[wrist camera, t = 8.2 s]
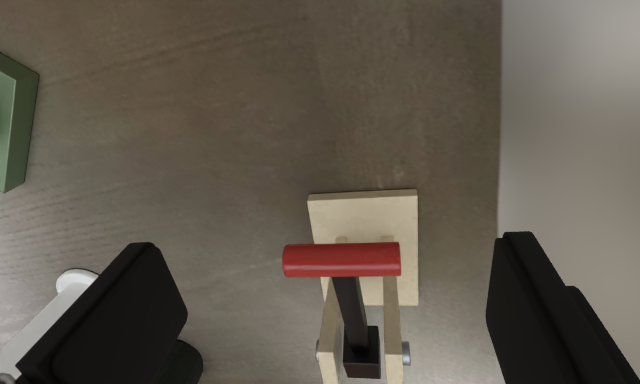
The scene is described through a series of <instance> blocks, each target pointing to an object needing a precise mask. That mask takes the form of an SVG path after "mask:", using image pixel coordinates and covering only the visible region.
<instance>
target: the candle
mask: <svg viewBox="0 0 640 384" xmlns="http://www.w3.org/2000/svg"><path fill="white" fill-rule="evenodd" d="M98 276H99V275H97V274H95V273H92V272H90V271H86V270H81V269H73V270H68V271H66V272H64V273H63V274H62V275H61V276H60V277H59V278H58V280H57V282H56V289H57V292H58V295H57V296H56V297H55V298H54V299H53V300H52V301H51V302H50V303H49V304H48V305H47V306H46V307H45V308H43V309H42V310H41V311H40V312H39V313H38V314H37V315H36V316H35V317H34V318H33V319H32V320H31V321H30V322H29V323H28V324H27V325H26V326H24V327H23V328H22V329H21V330H20V331H19V332H18V333H17V334H16V335H15V336H14V337H13V338H12V339H11V340H10V341H9V342H8V343H7V344H6V345H4V346H3V347H2V348H1V349H0V373H7V374H11V375H12V376H13V377H14V378H15V379H17V378H18V377H19V376H20V375H21V374H22V373H21V372H20V371H19V370H18V369H17V368H16V367H15V365H16V363H17V362H18V361H19V360H20V359H21V358H22V357H23V356H24V355H25V354H26V353H27V352H28V351H29V350H30V349H31V348H32V346H33V345H34V344H35V343H36V342H37V341H38V340H39V339H40V338H41V337H42V336H43V335H44V334H45V333H46V332H47V330H48V329H49V328H50V327H51V326H52V325H53V324H54V323H55V322H56V321H57V320H58V319H59V318H60V317H61V316H62V315H63V313H64V312H65V311H66V310H67V309H68V308H69V307H70V306H71V305H72V304H73V303H74V302H75V301H76V300H77V299H78V298H79V296H80V295H81V294H82V293H83V292H84V291H85V290H86V289H87V288H88V287H89V286H90V285H91V284H92V283H93V282H94V281H95V279H96V278H97V277H98Z"/></svg>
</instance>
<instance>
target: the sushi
mask: <svg viewBox="0 0 640 384" xmlns="http://www.w3.org/2000/svg"><path fill="white" fill-rule="evenodd" d="M202 372H203V363H202V359H201V356H200V354H199V353H198V352H197V351H196V350H195V349H194V348H192V347H191V346H189V345H187V344H185V343H184V342H180V341H177V340H176V341H175V343H174V345H173V346H172V348H171V350H170V352H169V353H168V355H167V357H166V359H165V361H164V362H163V364H162V366H161V368H160V370H159V371H158V373H157V375H156V377H155V379H154V380H153V382H152V384H197V383H198V381H199V379H200V377H201V374H202Z"/></svg>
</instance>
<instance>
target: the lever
mask: <svg viewBox="0 0 640 384" xmlns="http://www.w3.org/2000/svg"><path fill="white" fill-rule="evenodd" d="M282 265H283V271H284V275H285V276H286V277H331V279H332V283H333V286H334V290H335V293H336V297H337V300H338V304H339V307H340V311H341V314H342V318H343V321H344V325H345V326H344V342H343V365H344V368H345V371H346V373H347V376H348V377H349V378H371V379H381V360H380V339H379V331H378V326H367V320H366V314H365V309H364V303H363V297H362V291H361V286H360V280H359V277H383V276H401V255H400V244H399V242H371V243H332V244H294V245H286V246H285V248H284V251H283V257H282Z"/></svg>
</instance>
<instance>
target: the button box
mask: <svg viewBox="0 0 640 384" xmlns="http://www.w3.org/2000/svg"><path fill="white" fill-rule="evenodd" d="M38 79H39V75H38V74H37V73H35V72H33V71H31V70H29V69H28V68H26V67H24V66H22V65H21V64H19V63H17V62H15V61H13V60H12V59H10V58H8V57H6V56H5V55H3V54H1V53H0V192H2V193H6V192H8V191H10V190H12V189H14V188H15V187H17V186H19V185H21V184H23V183H24V179H25V172H26V164H27V157H28V150H29V143H30V136H31V129H32V121H33V114H34V107H35V100H36V93H37V86H38Z"/></svg>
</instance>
